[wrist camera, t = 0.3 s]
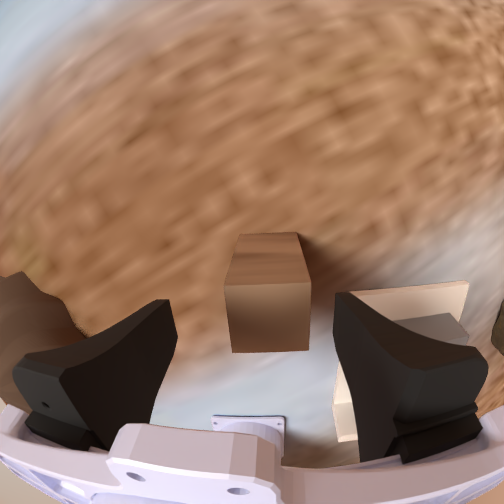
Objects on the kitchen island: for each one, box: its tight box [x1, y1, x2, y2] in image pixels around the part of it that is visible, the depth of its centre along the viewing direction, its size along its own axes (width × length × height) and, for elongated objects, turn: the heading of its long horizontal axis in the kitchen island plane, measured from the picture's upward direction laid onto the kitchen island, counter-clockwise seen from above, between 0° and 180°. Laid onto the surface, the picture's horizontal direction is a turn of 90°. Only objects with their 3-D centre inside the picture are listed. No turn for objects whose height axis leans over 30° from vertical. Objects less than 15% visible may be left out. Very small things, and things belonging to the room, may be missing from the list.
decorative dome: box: [0, 271, 87, 414], centre depth 22 cm, size 19×20×10 cm
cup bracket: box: [331, 280, 469, 442], centre depth 22 cm, size 14×12×5 cm
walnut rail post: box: [224, 232, 311, 353], centre depth 18 cm, size 4×4×8 cm
